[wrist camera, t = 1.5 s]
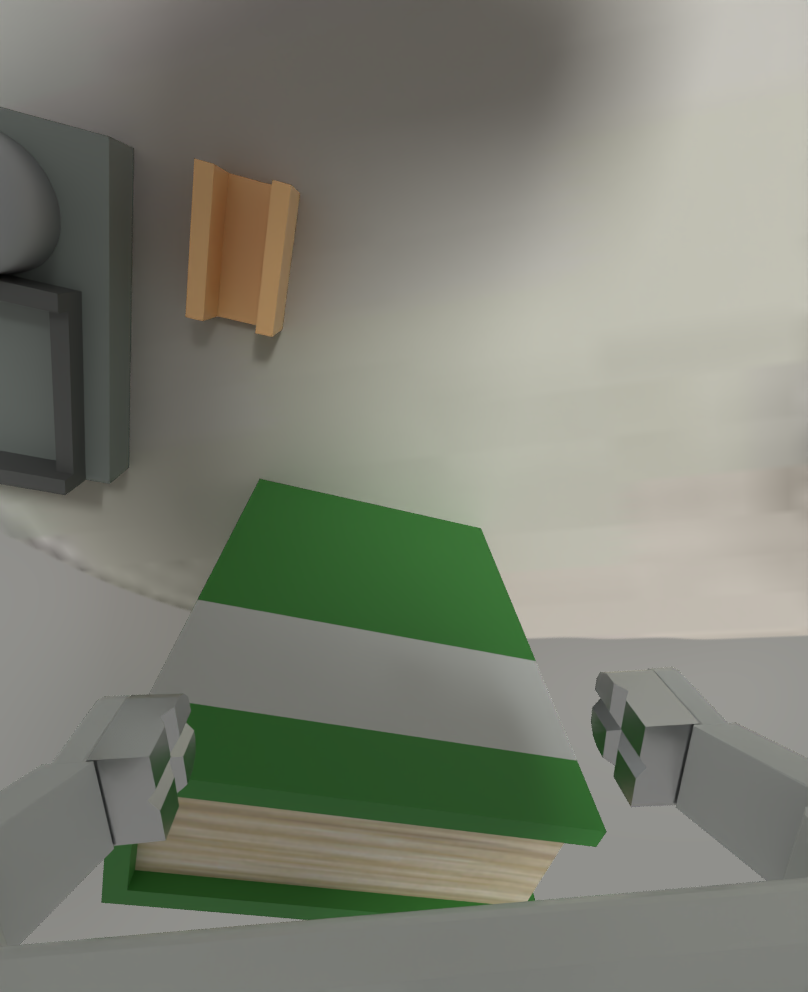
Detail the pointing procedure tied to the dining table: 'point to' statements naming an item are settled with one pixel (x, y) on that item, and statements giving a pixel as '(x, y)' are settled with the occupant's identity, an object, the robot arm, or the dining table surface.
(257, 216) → the chute
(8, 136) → the panel with grey ball
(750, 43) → the dining table surface
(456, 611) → the hardback book
